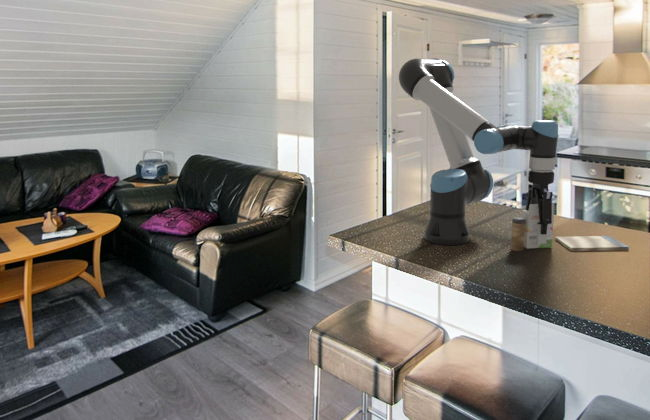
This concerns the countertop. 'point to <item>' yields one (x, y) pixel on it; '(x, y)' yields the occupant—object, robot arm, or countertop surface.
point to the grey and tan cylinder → (518, 234)
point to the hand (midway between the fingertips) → (535, 239)
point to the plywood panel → (591, 243)
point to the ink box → (536, 228)
